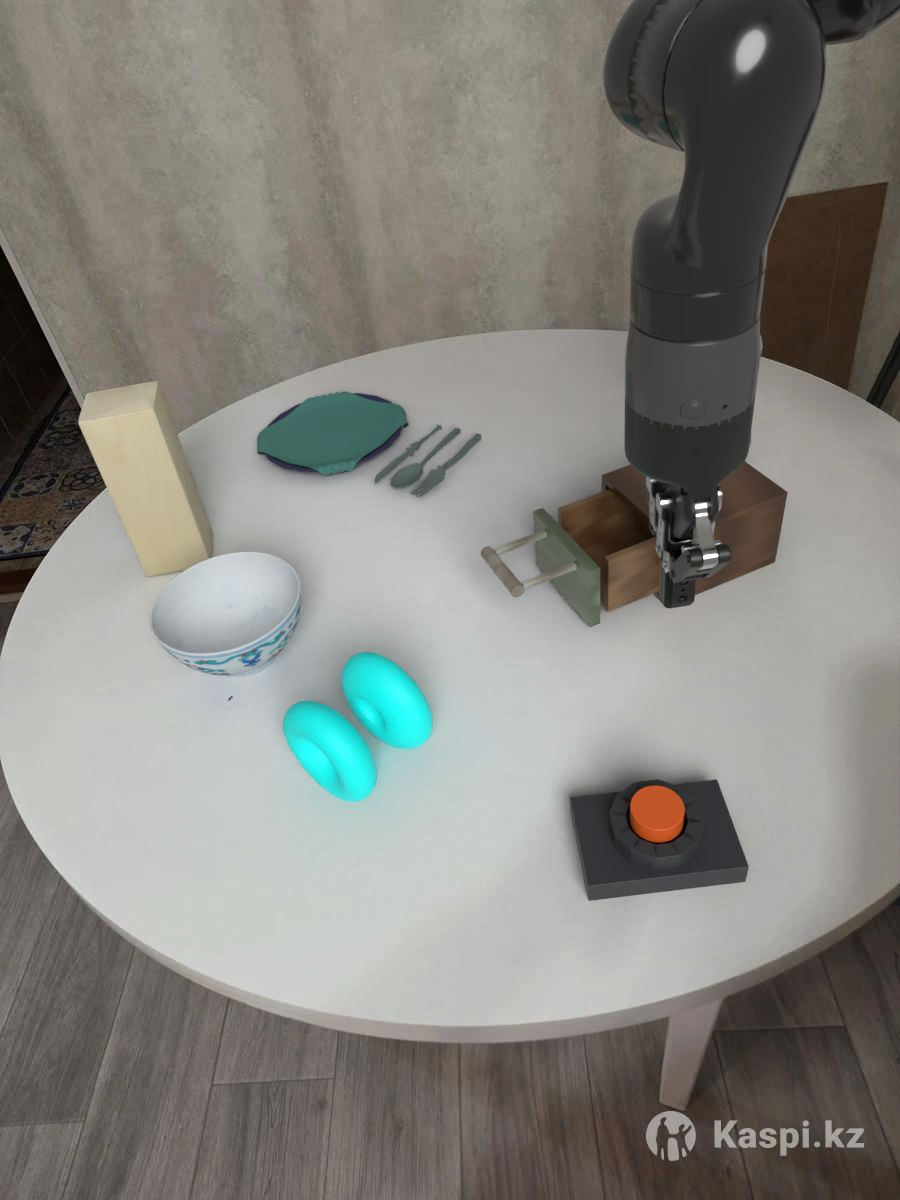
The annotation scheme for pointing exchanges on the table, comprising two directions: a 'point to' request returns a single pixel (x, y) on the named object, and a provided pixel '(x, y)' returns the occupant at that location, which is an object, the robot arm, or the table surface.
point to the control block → (656, 844)
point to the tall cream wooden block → (147, 476)
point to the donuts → (379, 705)
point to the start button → (657, 814)
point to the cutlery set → (349, 438)
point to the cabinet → (724, 518)
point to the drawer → (588, 555)
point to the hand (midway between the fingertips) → (676, 599)
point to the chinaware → (228, 613)
